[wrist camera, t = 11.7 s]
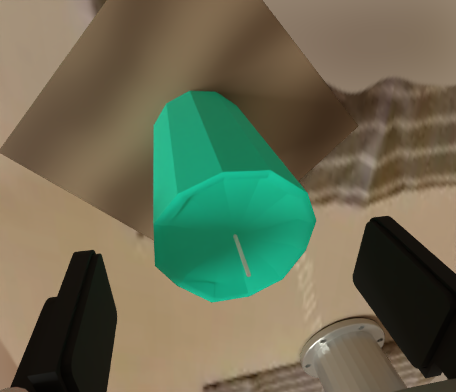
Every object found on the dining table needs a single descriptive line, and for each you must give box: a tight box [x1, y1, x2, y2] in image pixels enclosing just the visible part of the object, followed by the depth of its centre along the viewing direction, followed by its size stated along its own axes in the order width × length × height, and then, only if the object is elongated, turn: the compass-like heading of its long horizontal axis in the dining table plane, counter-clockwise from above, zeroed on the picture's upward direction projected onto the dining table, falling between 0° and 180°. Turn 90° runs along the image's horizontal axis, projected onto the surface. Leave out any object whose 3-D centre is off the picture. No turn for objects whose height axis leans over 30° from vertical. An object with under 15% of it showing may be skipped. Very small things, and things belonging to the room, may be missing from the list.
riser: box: [0, 0, 358, 240], centre depth 22 cm, size 16×16×5 cm
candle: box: [153, 91, 316, 302], centre depth 15 cm, size 6×6×12 cm
